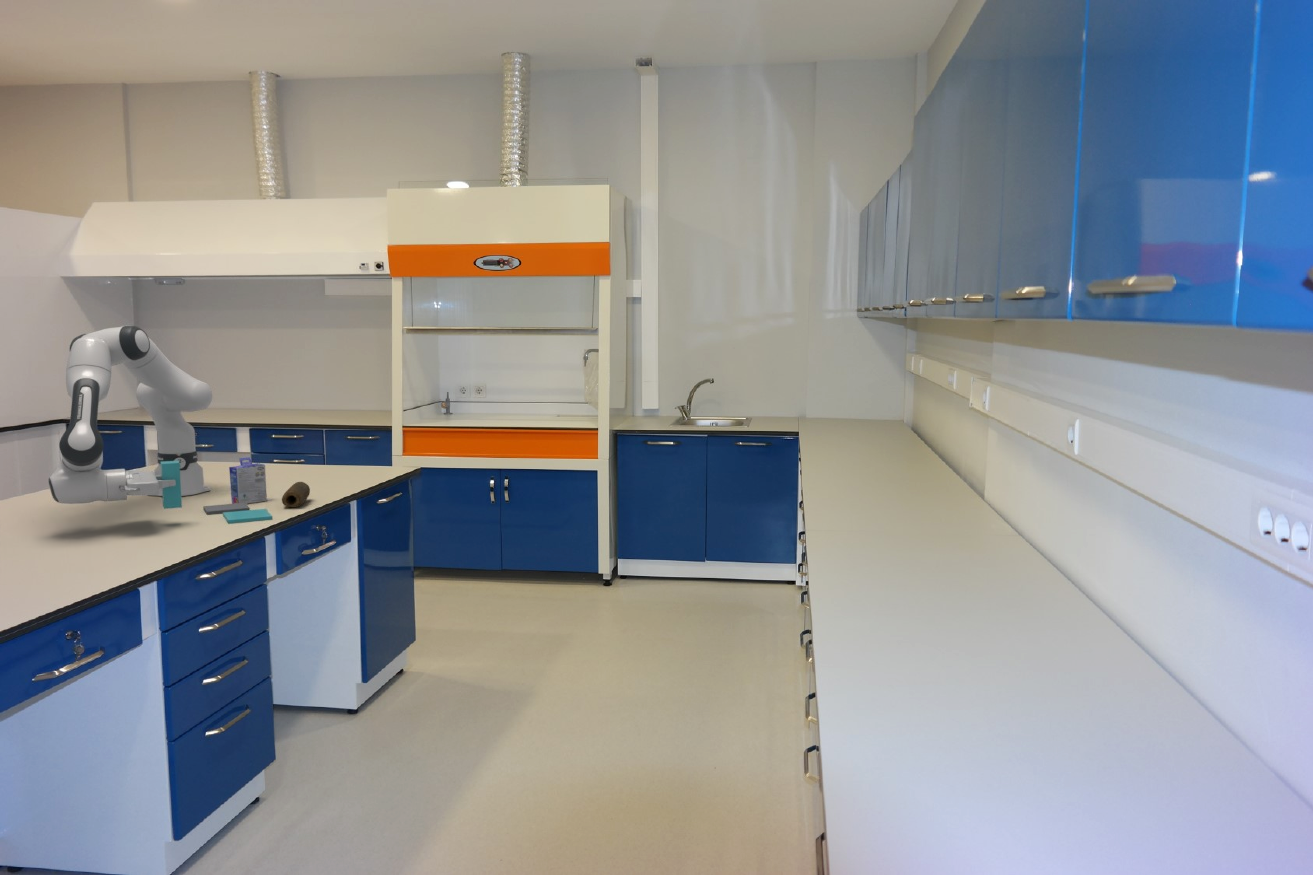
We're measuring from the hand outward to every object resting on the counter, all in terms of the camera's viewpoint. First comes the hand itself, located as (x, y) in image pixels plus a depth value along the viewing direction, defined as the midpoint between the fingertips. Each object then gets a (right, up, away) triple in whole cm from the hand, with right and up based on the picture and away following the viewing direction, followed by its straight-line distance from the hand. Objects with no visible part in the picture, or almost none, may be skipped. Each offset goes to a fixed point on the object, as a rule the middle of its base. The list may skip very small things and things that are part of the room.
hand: (174, 480), depth 261 cm
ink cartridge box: (+6, -9, +34) cm, 36 cm away
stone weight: (+22, -10, +32) cm, 40 cm away
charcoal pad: (+5, -10, +21) cm, 24 cm away
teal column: (-1, -8, +1) cm, 8 cm away
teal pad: (+16, -12, +12) cm, 23 cm away
